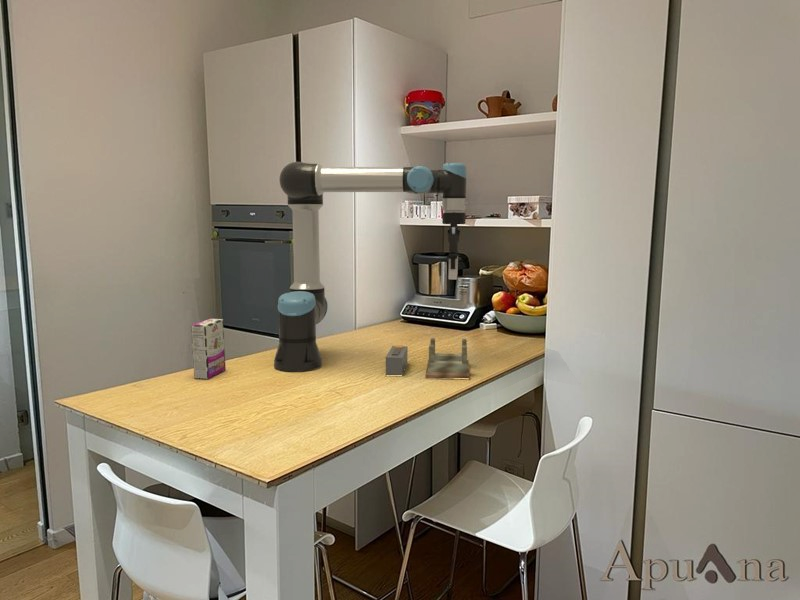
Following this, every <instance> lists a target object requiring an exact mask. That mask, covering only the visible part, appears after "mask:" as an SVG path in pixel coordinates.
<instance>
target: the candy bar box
mask: <svg viewBox="0 0 800 600" xmlns="http://www.w3.org/2000/svg"><path fill="white" fill-rule="evenodd" d="M190 327H191V328H190V329H191V343H192V345H191V346H192V347H191V348H192V360H193V378H194V379H195V378H198V379H197V380H210V379H212V378H214V377H216V376H218V375H220V374H221V373H223V372H225V371H226V370H227V369H226V354H225V353H226V351H225V335H224V334H225V333H224V319H223V318H221V319H220V318H209V319H205V320H203V321H200V322H197V323H194V324H191V325H190ZM217 374H218V375H217ZM215 375H216V376H215ZM213 376H214V377H213ZM199 378H200V379H199Z"/></svg>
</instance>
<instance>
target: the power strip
mask: <svg viewBox="0 0 800 600" xmlns="http://www.w3.org/2000/svg"><path fill="white" fill-rule="evenodd" d="M406 364H407V365H408V346H404V345H401V344H400V345H397V344H396V345H391V348H390V349H389V351H388V353H387V354H386V356H385V376H386V375H402V374H403V375H404V373H405V371H404V369H405V370H406V368H407V366H406ZM405 367H406V368H405ZM403 372H404V373H403ZM403 375H402V376H403Z"/></svg>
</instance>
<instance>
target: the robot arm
mask: <svg viewBox="0 0 800 600" xmlns="http://www.w3.org/2000/svg"><path fill="white" fill-rule="evenodd" d="M278 182H279V185H280V188H281V190H282V192H283V193H284V194H285V195H286V196H287V207H289V208H290V209H291V210H292V243H293V244H292V246H293V283H292V284H291V285H290V287H289V292H285V293H283V294H281V295H280V296H279V297H278V300H277V301H278V302H277V303H278V304H277V312H278V313H277V314H278V317H277V318H278V345H277V350H276V352H275V357H274V360H273V366H274V369H275V370H278V371H282V372H308V371H309V372H310V371H313V370H317V369H319V368H321V367H322V366H323V365H322V364H323V363H322V361H323V359H322V355H321V352H320V349H319V347H318V344H317V326H316V325H318V324H319V323H320V322H322V321H323V319H324V318H326V317H325V316H326V315H327V312H328V308H329V307H328V300H327V298H326V297H325V294H326V293H325V285H323V283H321V275H320V221H319V215H320V214H319V212H320V210H321V208H322V207H323V206H324V197H323V196H324V193H408V194H414V195H415V194H416V195H419V194H442V198H441V199H442V200H441V201H442V203H441V204H442V206H441V207H442V211H443V213H442V215H441V216H442V217H441V219H442V220H441V221H442V224H443V225H449V228H448V229H447V240H448V245H449V247H448V248H449V249H448V255H446V259H447V260H448V280H454V281H455V280H458V274H459V273H458V271H459V270H458V269H459V268H458V267H459V265H458V264H459V257H460V255H461V252H459V251H458V246H459V245H458V244H459V242H460V236H461V230H460V229H459V227H458V225H465V224H466V221H467V220H466V219H467V218H466V215H467V214H466V212H465V211H466V207H467V206H466V205H468V203H469V202H468V201H466V198H467V166H466V164H464V163H462V162H447V163H444V164H443V165H442V168H441V169H429V168H428V167H426V166H424V165H417V166H322V164H320V163H309V162H302V161H293V162H290V163H288V164H286V165H285V166H284V167H283V168H282V170H281V172H280V174H279V181H278Z"/></svg>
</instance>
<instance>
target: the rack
mask: <svg viewBox="0 0 800 600" xmlns="http://www.w3.org/2000/svg"><path fill="white" fill-rule="evenodd" d="M467 340H468V339H467V338H462V339H461V353H440V352H439V353H437V352H436V337H430V341H429V342H430V343H429V345H428V360H427V365H426V370H425V376H424V379H425V378H469V379H470V365H469V359H468V345H467V343H468V341H467Z"/></svg>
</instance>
